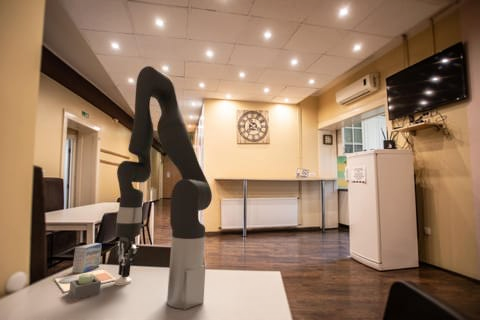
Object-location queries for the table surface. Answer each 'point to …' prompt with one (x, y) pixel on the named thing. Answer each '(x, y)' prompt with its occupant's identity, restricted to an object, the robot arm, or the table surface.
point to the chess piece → (123, 279)
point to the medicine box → (86, 257)
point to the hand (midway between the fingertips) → (123, 275)
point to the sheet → (99, 274)
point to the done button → (85, 279)
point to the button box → (84, 289)
